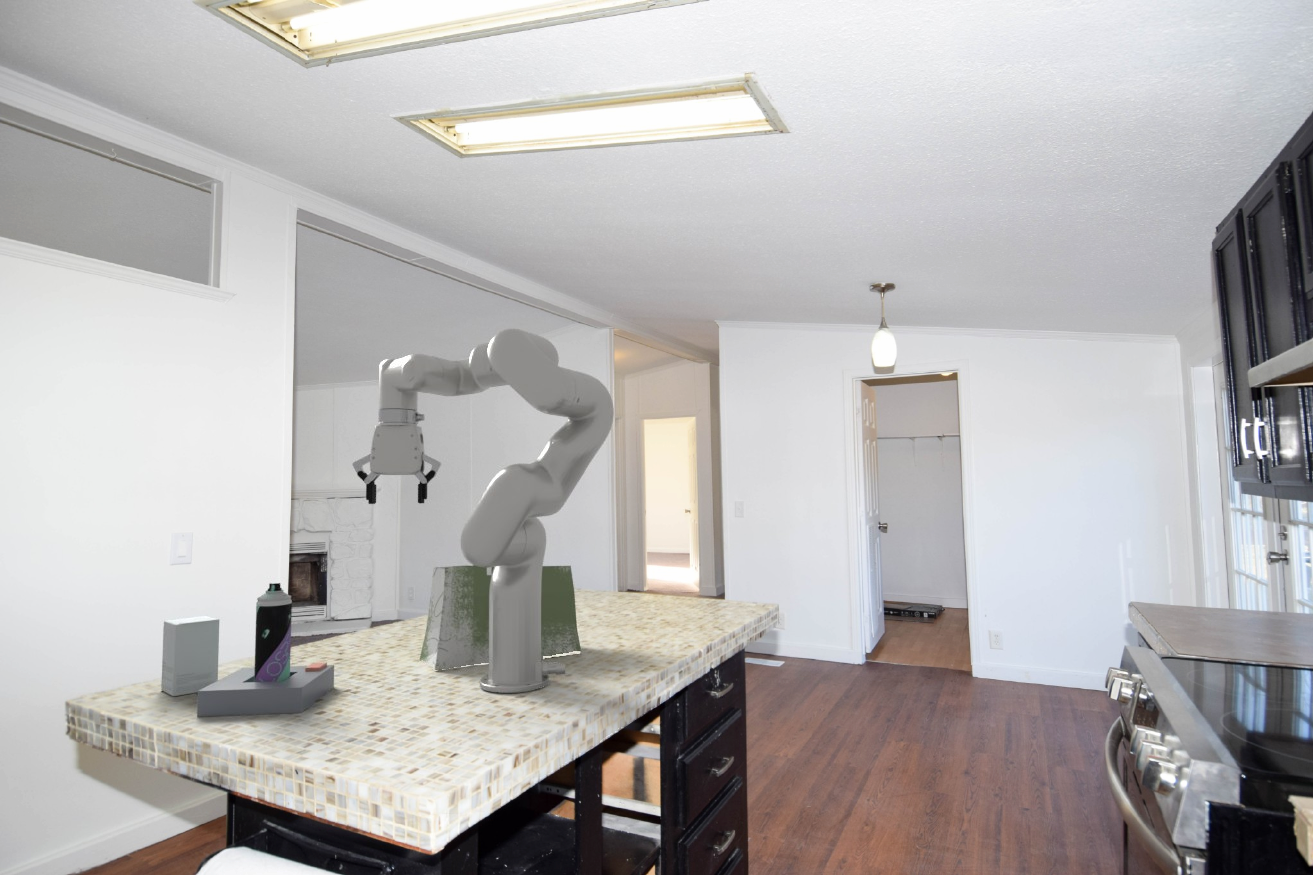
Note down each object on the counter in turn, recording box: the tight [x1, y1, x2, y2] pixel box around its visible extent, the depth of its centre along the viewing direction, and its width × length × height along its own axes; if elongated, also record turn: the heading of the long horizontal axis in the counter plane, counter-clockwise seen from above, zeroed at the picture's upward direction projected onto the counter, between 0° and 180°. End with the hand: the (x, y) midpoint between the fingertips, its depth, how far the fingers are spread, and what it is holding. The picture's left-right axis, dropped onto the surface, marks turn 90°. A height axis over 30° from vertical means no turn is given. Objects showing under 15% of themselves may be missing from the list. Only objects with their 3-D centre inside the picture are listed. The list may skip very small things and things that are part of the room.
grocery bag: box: [419, 565, 582, 670], centre depth 162 cm, size 32×14×23 cm, turn 119°
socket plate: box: [196, 661, 335, 717], centre depth 129 cm, size 16×16×5 cm
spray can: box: [254, 582, 293, 682], centre depth 129 cm, size 6×6×20 cm
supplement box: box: [160, 615, 220, 697], centre depth 137 cm, size 7×7×13 cm
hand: (396, 503), depth 152 cm, fingers open, 9 cm apart
